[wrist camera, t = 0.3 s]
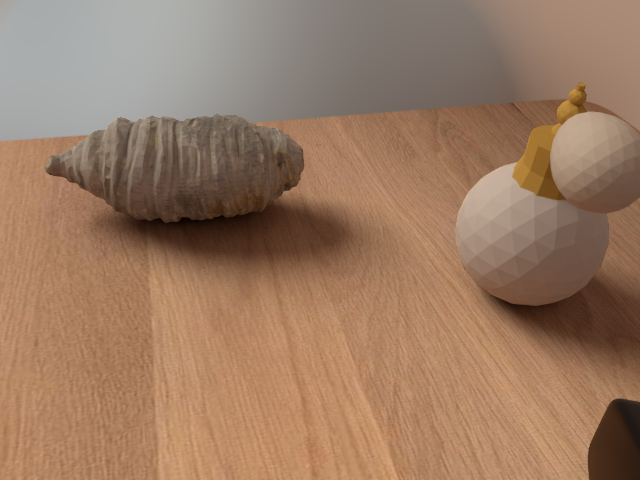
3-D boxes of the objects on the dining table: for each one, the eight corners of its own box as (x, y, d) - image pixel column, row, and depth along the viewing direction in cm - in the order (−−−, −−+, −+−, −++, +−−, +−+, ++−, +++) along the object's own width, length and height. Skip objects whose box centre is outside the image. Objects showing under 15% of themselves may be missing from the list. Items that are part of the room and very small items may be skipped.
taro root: (61, 136, 37) (83, 30, 32) (265, 204, 42) (316, 122, 36) (28, 212, 33) (47, 106, 27) (259, 279, 38) (315, 199, 32)
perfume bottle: (530, 230, 37) (597, 39, 30) (642, 346, 30) (768, 134, 23) (421, 250, 35) (464, 49, 28) (515, 381, 28) (607, 159, 20)
